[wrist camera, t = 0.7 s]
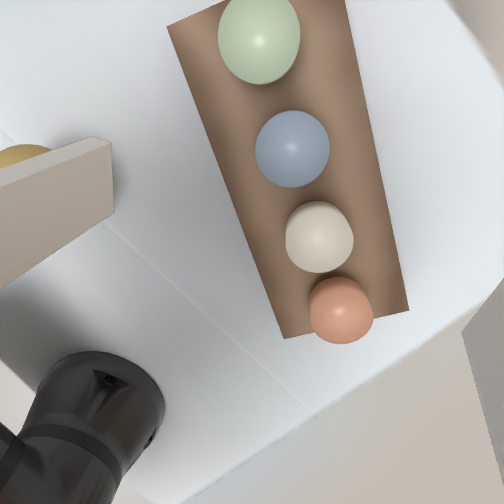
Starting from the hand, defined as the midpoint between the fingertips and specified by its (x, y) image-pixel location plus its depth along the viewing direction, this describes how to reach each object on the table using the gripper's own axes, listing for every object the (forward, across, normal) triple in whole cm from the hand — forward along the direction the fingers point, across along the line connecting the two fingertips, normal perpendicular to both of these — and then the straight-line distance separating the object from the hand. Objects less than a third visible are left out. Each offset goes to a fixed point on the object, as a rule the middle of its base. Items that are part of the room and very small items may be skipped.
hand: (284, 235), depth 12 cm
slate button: (+16, +3, +2) cm, 16 cm away
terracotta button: (+15, -5, +14) cm, 21 cm away
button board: (+20, +2, +6) cm, 21 cm away
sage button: (+16, +6, -4) cm, 18 cm away
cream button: (+15, -1, +8) cm, 17 cm away
